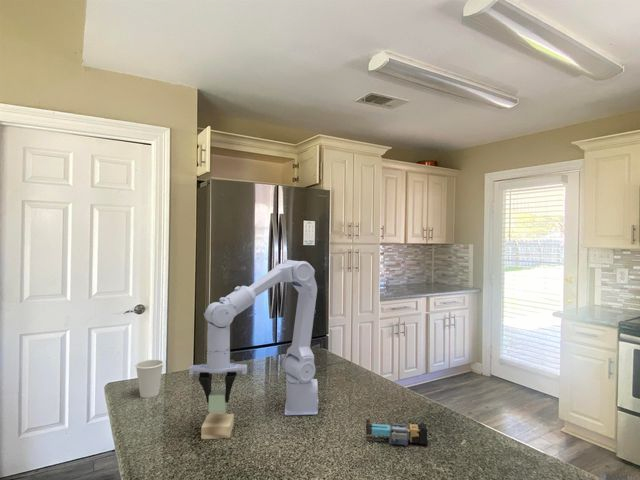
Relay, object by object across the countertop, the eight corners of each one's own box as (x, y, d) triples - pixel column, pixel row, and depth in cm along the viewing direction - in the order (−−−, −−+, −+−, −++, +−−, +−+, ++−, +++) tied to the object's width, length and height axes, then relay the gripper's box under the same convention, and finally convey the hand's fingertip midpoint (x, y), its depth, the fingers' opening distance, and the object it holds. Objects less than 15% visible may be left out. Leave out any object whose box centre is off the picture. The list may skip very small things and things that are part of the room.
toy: (366, 416, 100) (425, 420, 98) (366, 433, 100) (425, 438, 98) (366, 426, 94) (429, 431, 92) (366, 445, 94) (429, 450, 92)
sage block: (227, 404, 102) (227, 389, 102) (224, 411, 98) (224, 395, 98) (212, 404, 102) (212, 389, 102) (208, 411, 98) (208, 395, 98)
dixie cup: (164, 388, 130) (164, 358, 130) (162, 397, 122) (162, 366, 122) (137, 390, 127) (137, 360, 127) (133, 400, 119) (133, 368, 119)
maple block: (233, 425, 104) (233, 413, 104) (229, 438, 97) (229, 426, 97) (207, 425, 103) (207, 414, 103) (201, 439, 96) (201, 427, 96)
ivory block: (223, 412, 112) (223, 398, 112) (225, 418, 108) (225, 404, 108) (209, 415, 110) (209, 401, 110) (211, 421, 106) (211, 406, 106)
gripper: (248, 344, 105) (248, 394, 105) (194, 345, 104) (193, 395, 104) (245, 352, 98) (244, 405, 98) (186, 352, 97) (186, 406, 97)
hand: (218, 401), depth 100 cm, fingers closed on sage block, 4 cm apart
